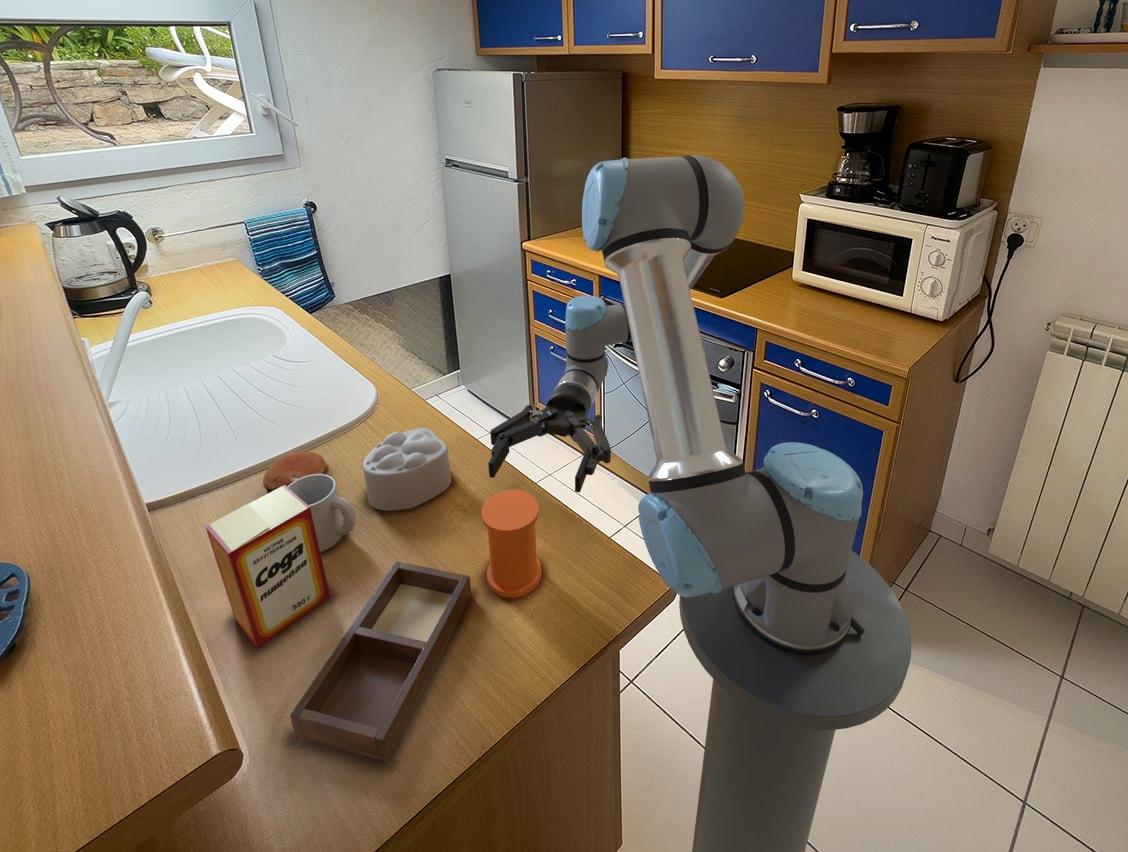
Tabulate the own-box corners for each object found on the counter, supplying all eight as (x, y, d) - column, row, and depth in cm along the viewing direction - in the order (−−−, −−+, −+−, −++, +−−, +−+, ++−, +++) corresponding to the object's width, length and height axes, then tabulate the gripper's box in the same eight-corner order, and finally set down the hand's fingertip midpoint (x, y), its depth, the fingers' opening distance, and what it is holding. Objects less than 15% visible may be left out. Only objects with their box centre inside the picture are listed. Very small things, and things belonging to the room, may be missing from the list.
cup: (310, 517, 94) (300, 471, 91) (370, 523, 93) (362, 477, 90) (282, 553, 88) (270, 505, 84) (347, 560, 87) (337, 512, 83)
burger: (314, 459, 107) (310, 438, 105) (339, 483, 102) (335, 461, 100) (256, 487, 100) (250, 465, 99) (279, 515, 95) (273, 492, 93)
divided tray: (471, 595, 81) (469, 575, 80) (387, 762, 63) (382, 740, 61) (398, 580, 84) (395, 560, 82) (295, 736, 65) (289, 715, 63)
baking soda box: (306, 572, 85) (284, 482, 78) (330, 597, 81) (309, 504, 75) (234, 618, 78) (204, 524, 72) (257, 648, 74) (227, 551, 68)
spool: (548, 559, 87) (546, 494, 83) (531, 603, 80) (527, 535, 76) (499, 549, 89) (494, 485, 84) (478, 592, 82) (472, 524, 77)
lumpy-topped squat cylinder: (457, 485, 102) (453, 443, 98) (383, 522, 93) (376, 478, 90) (429, 455, 109) (424, 415, 105) (357, 488, 101) (350, 446, 97)
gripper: (638, 427, 108) (614, 511, 88) (508, 408, 112) (458, 484, 93) (640, 392, 105) (615, 470, 85) (506, 374, 109) (454, 444, 90)
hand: (533, 477), depth 89 cm, fingers open, 13 cm apart
